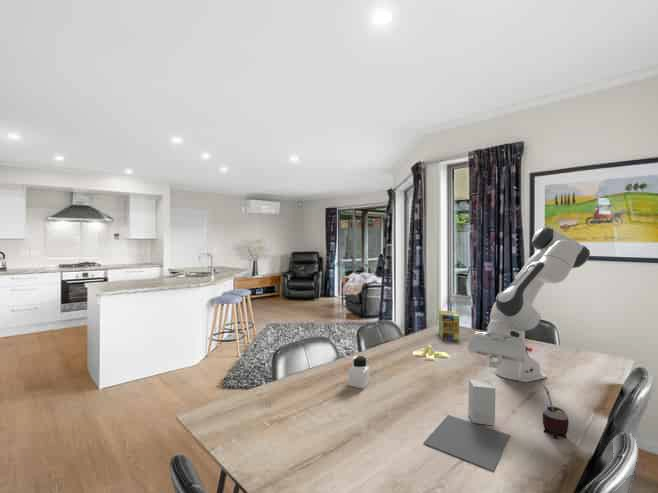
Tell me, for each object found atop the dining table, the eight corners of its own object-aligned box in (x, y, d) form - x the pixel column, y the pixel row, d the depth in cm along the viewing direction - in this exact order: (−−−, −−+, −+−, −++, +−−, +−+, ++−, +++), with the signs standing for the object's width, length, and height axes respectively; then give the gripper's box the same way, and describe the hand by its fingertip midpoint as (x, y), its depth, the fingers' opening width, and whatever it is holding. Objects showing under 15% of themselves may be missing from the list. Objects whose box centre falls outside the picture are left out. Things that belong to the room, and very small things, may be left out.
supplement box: (495, 426, 115) (496, 388, 115) (472, 423, 116) (473, 386, 116) (489, 415, 122) (490, 380, 122) (467, 413, 123) (468, 378, 123)
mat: (448, 415, 122) (448, 414, 122) (510, 435, 109) (510, 435, 109) (423, 443, 104) (423, 442, 104) (493, 471, 92) (493, 470, 92)
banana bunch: (455, 357, 185) (455, 346, 185) (436, 365, 173) (436, 353, 173) (420, 347, 202) (421, 337, 202) (401, 353, 190) (401, 342, 190)
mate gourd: (568, 443, 106) (569, 395, 105) (539, 435, 110) (540, 389, 109) (567, 431, 112) (568, 386, 112) (539, 424, 116) (540, 381, 116)
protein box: (442, 339, 217) (442, 315, 217) (438, 332, 233) (438, 310, 232) (459, 340, 216) (459, 315, 215) (454, 333, 231) (454, 311, 231)
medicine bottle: (369, 382, 149) (369, 355, 149) (364, 389, 143) (364, 361, 143) (354, 379, 152) (354, 353, 152) (348, 386, 146) (348, 358, 146)
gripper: (470, 326, 138) (462, 356, 131) (527, 335, 126) (523, 369, 119) (472, 335, 142) (465, 364, 134) (528, 344, 130) (524, 377, 122)
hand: (493, 366), depth 126 cm, fingers closed
